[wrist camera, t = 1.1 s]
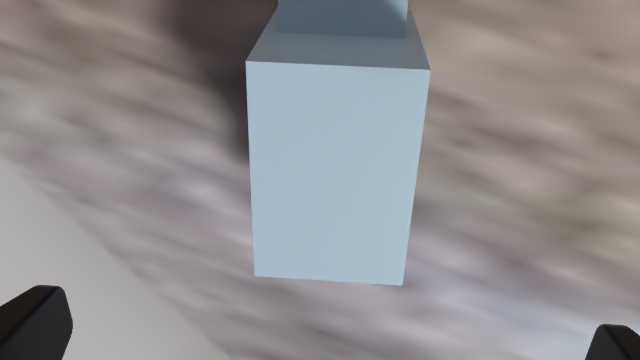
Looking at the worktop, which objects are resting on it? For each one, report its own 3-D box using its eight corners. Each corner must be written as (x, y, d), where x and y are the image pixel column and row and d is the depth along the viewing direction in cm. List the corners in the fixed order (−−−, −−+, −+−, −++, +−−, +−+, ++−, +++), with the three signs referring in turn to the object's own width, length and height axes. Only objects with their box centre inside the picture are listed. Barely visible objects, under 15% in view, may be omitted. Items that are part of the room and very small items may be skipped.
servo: (416, -44, 16) (440, -2, 11) (388, 218, 20) (396, 326, 16) (278, -49, 16) (242, -11, 11) (280, 211, 21) (256, 316, 16)
